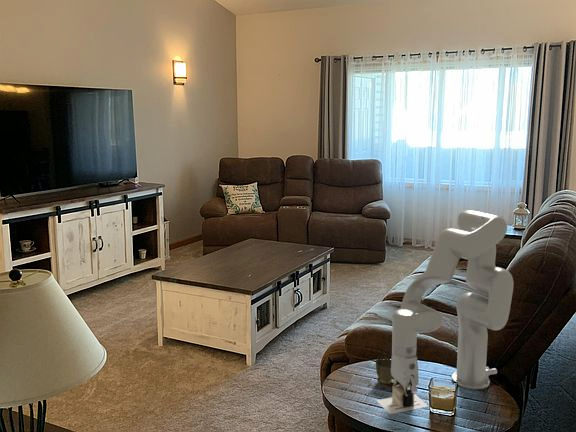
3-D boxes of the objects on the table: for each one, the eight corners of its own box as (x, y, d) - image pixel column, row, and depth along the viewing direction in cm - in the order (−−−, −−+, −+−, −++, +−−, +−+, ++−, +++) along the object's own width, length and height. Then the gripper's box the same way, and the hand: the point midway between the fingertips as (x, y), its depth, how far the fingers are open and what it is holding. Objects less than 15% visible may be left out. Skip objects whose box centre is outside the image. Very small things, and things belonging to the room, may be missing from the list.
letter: (413, 393, 192) (413, 393, 192) (428, 407, 183) (428, 406, 183) (376, 401, 187) (376, 400, 187) (389, 414, 179) (389, 414, 179)
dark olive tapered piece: (396, 389, 195) (397, 367, 194) (374, 387, 197) (375, 365, 195) (397, 378, 202) (397, 357, 201) (375, 377, 204) (376, 356, 202)
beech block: (405, 397, 188) (406, 383, 187) (414, 404, 184) (414, 390, 183) (392, 400, 187) (392, 385, 186) (400, 407, 182) (400, 393, 181)
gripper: (429, 357, 175) (427, 412, 179) (401, 336, 191) (400, 387, 194) (407, 361, 173) (406, 417, 176) (380, 340, 188) (380, 391, 192)
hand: (403, 400), depth 185 cm, fingers closed on beech block, 5 cm apart
